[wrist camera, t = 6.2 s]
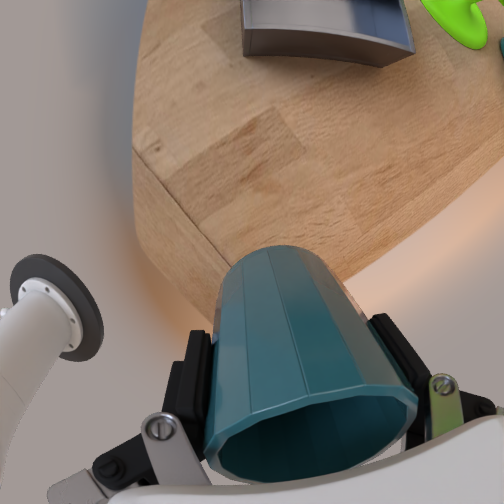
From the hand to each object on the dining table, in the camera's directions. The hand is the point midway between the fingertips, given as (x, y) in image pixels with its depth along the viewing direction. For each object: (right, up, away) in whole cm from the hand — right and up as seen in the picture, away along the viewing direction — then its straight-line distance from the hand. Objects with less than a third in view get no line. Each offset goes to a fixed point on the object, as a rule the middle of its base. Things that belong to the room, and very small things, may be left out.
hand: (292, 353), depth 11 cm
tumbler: (0, +1, +4) cm, 4 cm away
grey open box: (+5, +30, +9) cm, 32 cm away
